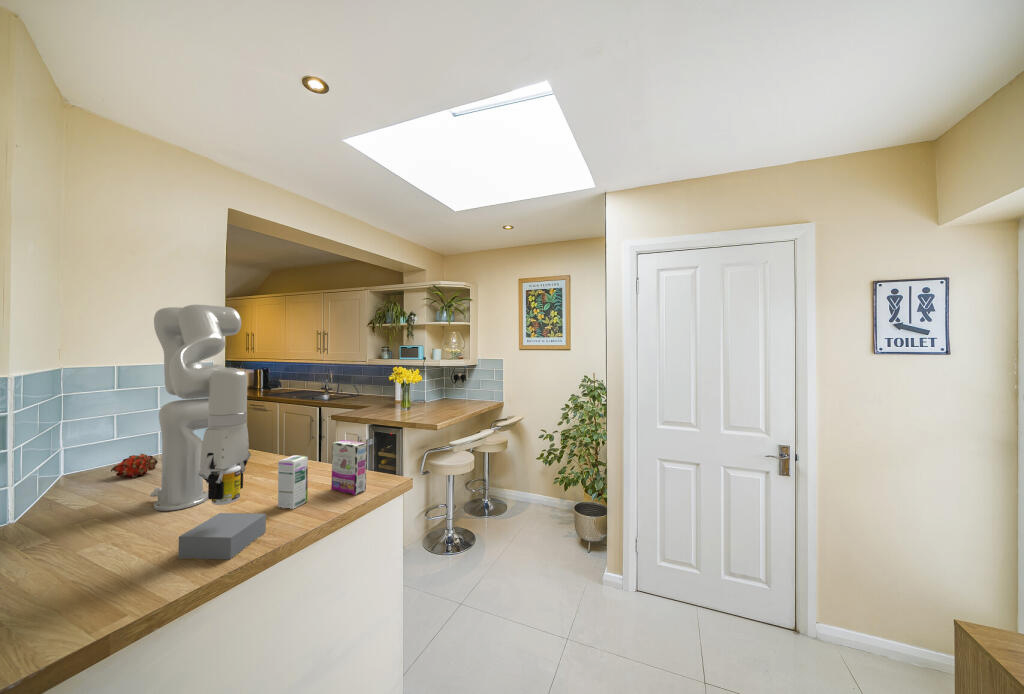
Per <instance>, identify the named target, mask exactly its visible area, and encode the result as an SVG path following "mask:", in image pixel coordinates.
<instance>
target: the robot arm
mask: <svg viewBox="0 0 1024 694" xmlns="http://www.w3.org/2000/svg"><path fill="white" fill-rule="evenodd" d="M153 326H154V331H155V335H156V337H157V339H158V341H159V343H160V345H161V347H162V351H163V366H164V367H163V368H164V369H163V370H164V386H165V387H164V388H165V390H166V392H167V393H168V394H169V395H171V396H177V397H179V398H180V400H173V401H170V402H167V403H165V404H164V405H162V406H161V407H160V409H159V410H158V411H159V412H158V420H159V426H160V427H159V428H160V432H161V441H162V444H161V487H155V488H154V490H153V491H152V492H150V494H149V496H150V497H152V498H153V497H154V498H155V497H157V501H155V502H154V503H153V509H155V510H156V511H160V512H169V511H177V510H183V509H187V508H190V507H191V508H192V507H193V506H197V505H199V504H202V503H203V502H205V501H207V500H211V501H212V500H221V499H223V497H224V482H221V481H222V477H223V474H224V470H225V469H227V468H229V467H231V466H233V465H235V464H237V465H239V466H240V467H241V479H240V490H242V489H243V487H244V473H245V471H246V466H247V464H248V461H249V459H250V458H251V456H252V454H251V452H250V451H249V449H250V444H249V442H250V441H249V440H250V439H249V431H248V424H247V416H248V415H247V412H248V410H247V409H248V408H247V406H248V373H247V372H246V371H244V370H241V369H239V368H236V367H226V366H224V365H222V364H202V362H201V361H203V360H206V359H209V358H213V357H215V356H217V355H219V354H220V353H221V352H222V351H223V350H224V348H225V347H226V340H225V338H224V337H228V336H235V335H237V334H238V333H239V332H240V330H241V328H242V318H241V316H240V313H239V312H238V311H237V310H236V309H234V308H233V307H230V306H220V305H208V304H189V305H186V306H183V307H181V306H180V307H178V306H177V307H176V306H174V307H171V306H170V307H163V308H160V309H158V310H157V311H156V312H155V314H154V317H153ZM201 429H205V431H204V434H203V438H201V437H199V436H198V435H197V434H195V433H194V431H195V430H197V431H198V430H201ZM215 468H216V469H215ZM215 472H218V474H217V476H215V475H214V473H215ZM204 480H205V483H206V484H208V486H207V487H208V489H207V491H204V490H203V489H204V488H203V487H204V486H203V484H204Z"/></svg>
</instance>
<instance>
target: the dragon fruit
mask: <svg viewBox="0 0 1024 694" xmlns="http://www.w3.org/2000/svg"><path fill="white" fill-rule="evenodd" d="M158 463H159V462H158V460H157V459H156V457H153V455H147V454H145V453H140V454H139V455H136V454H135V455H129V456H128V458H123V460H122V461H121V462H120V463H117V464H116V465H115V466H113V467H112V468H111V469H110V472H115V476H117V477H120V478H125V477H127V478H130V477H132V478H133V479H134V478H136V477H138V476H145V475H146V474H147V472H149V471H151V472H152V471H154V470H155V469H156V465H157V464H158Z"/></svg>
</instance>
